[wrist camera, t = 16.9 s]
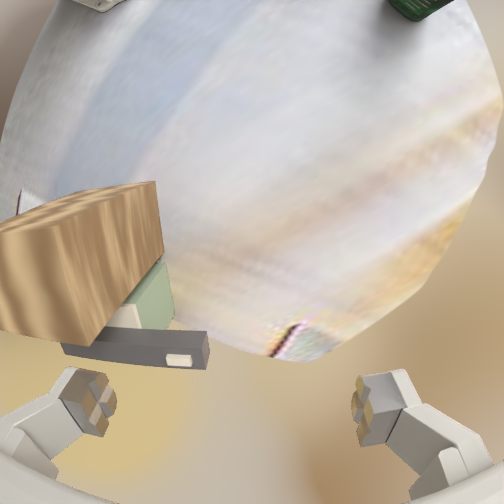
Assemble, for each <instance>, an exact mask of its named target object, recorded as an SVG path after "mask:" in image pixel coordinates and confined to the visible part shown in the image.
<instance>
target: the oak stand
mask: <svg viewBox="0 0 504 504" xmlns="http://www.w3.org/2000/svg"><path fill="white" fill-rule="evenodd" d="M163 253H164V245H163V239H162V232H161V225H160V217H159V210H158V202H157V193H156V184H155V181H150V182H142V183H134V184H126V185H118V186H111V187H104V188H98V189H91V190H85V191H79V192H75V193H72V194H69V195H67V196H64V197H61V198H59V199H56V200H53V201H51V202H48V203H46V204H43V205H41V206H38V207H36V208H33V209H31V210H28V211H26V212H24V213H21V214H19V215H17V216H14V217H12V218H10V219H8V220H5V221H3V222H1V223H0V330H3V331H7V332H12V333H16V334H20V335H25V336H30V337H35V338H40V339H45V340H50V341H56V342H62V343H68V344H75V345H81V346H88V347H89V346H90V345H91V344H92V342H93V341H94V340H95V338H96V337H97V335H98V334H99V333H100V331H101V330H102V329H103V327H104V326H105V325H106V324H107V322H108V321H109V320H110V318H111V317H112V316H113V314H114V313H115V312H116V311H117V309H118V308H119V307H120V305H121V304H122V303H123V302H124V300H125V299H126V298H127V297H128V295H129V294H130V293H131V292H132V290H133V289H134V288H135V287H136V285H137V284H138V283H139V282H140V280H141V279H142V278H143V277H144V275H145V274H146V273H147V272H148V271H149V269H150V268H151V267H152V266H153V265H154V263H155V262H156V261H157V260H158V259H159V257H160V256H161V255H162V254H163Z"/></svg>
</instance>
